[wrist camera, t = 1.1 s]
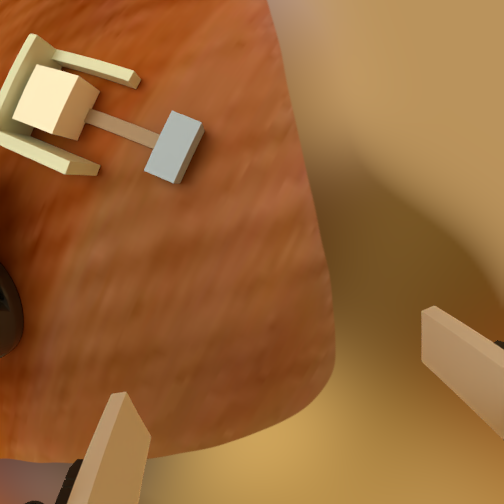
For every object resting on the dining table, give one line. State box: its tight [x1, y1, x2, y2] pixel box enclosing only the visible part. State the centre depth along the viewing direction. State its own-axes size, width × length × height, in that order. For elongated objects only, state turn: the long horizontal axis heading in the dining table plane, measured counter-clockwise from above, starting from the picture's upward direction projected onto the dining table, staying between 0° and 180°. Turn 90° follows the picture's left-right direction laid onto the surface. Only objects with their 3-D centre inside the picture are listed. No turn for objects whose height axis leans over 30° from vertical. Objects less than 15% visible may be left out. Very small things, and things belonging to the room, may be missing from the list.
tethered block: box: [12, 64, 205, 184], centre depth 27 cm, size 19×6×6 cm, turn 65°
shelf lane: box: [0, 34, 141, 176], centre depth 26 cm, size 12×11×8 cm
